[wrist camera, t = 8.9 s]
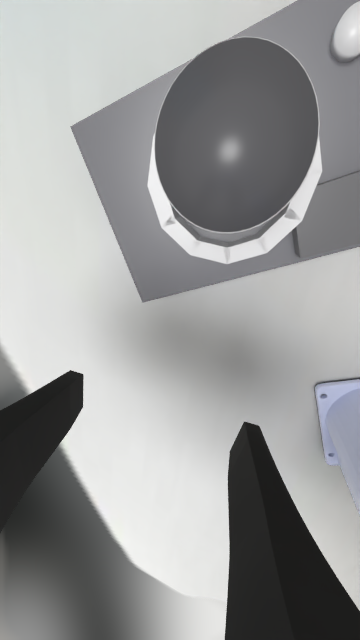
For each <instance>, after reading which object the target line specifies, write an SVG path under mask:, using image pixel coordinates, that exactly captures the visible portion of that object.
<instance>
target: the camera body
mask: <svg viewBox="0 0 360 640" xmlns="http://www.w3.org/2000/svg"><path fill="white" fill-rule="evenodd" d="M237 37H258V38H262V39H267V40H270V41H272V42H274V43H276V44H279V45H281V46H282V47H283V48H285V49H286V50H288V51H289V52H290V53H291V54H292V55H293V56H294V57H295V58H296V59H297V60H298V61H299V62H300V63H301V65H302V66H303V67H304V69H305V70H306V72H307V74H308V76H309V78H310V80H311V82H312V84H313V87H314V90H315V93H316V96H317V102H318V108H319V122H320V126H319V139H318V144H317V149H316V153H315V157H314V160H313V163H312V166H311V168H310V170H309V173H308V175H307V177H306V179H305V181H304V183H303V184H302V186H301V188H300V189H299V191H298V192H297V193H296V195H295V196H294V198H293V199H292V200H291V201H290V202H289V203H288V204H287V206H286V207H285V208H284V209H282V210H281V211H280V212H279V213H278V214H277V215H275V216H274V217H273V218H271V219H270V220H268V221H267V222H265V223H263V224H261V225H260V226H257V227H255V228H252V229H250V230H246V231H243V232H237V233H215V232H210V231H207V230H204V229H201V228H199V227H197V226H195V225H193V224H192V223H190V222H188V221H187V220H186V219H185V218H183V217H182V216H181V215H180V214H179V213H178V212H177V211H176V210H175V209H174V207H173V206H172V205H171V203H170V202H169V200H168V199H167V197H166V195H165V193H164V191H163V189H162V187H161V184H160V182H159V178H158V174H157V171H156V165H155V156H154V139H155V130H156V124H157V120H158V116H159V112H160V109H161V106H162V104H163V101H164V99H165V96H166V94H167V93H168V91H169V89H170V87H171V85H172V84H173V82H174V81H175V79H176V77H177V76H178V75H179V73H180V72H181V71H182V70H183V69H184V67H185V66H186V65H187V64H188V63H189V62H190V61H191V60H193V59H194V58H193V59H191V60H190V61H188V62H186V63H184V64H182V65H181V66H179V67H177V68H175V69H173V70H172V71H170V72H168V73H166V74H164V75H163V76H161V77H159V78H157V79H155V80H154V81H152V82H150V83H148V84H146V85H145V86H143V87H141V88H139V89H137V90H136V91H134V92H132V93H130V94H128V95H127V96H125V97H123V98H121V99H119V100H118V101H116V102H114V103H112V104H110V105H109V106H107V107H105V108H103V109H101V110H100V111H98V112H96V113H94V114H92V115H91V116H89V117H87V118H85V119H83V120H82V121H80V122H78V123H76V124H74V125H73V126H71V129H72V132H73V134H74V137H75V139H76V142H77V144H78V146H79V149H80V151H81V154H82V156H83V159H84V161H85V163H86V166H87V168H88V171H89V173H90V176H91V178H92V180H93V183H94V185H95V188H96V190H97V193H98V195H99V198H100V200H101V202H102V205H103V207H104V210H105V212H106V215H107V217H108V219H109V222H110V224H111V227H112V229H113V232H114V234H115V236H116V239H117V241H118V244H119V246H120V249H121V251H122V254H123V256H124V258H125V261H126V263H127V266H128V268H129V271H130V273H131V275H132V278H133V280H134V283H135V285H136V288H137V290H138V292H139V295H140V297H141V300H142V302H147V301H150V300H154V299H158V298H162V297H166V296H170V295H174V294H178V293H181V292H185V291H189V290H193V289H197V288H201V287H205V286H209V285H212V284H216V283H220V282H224V281H228V280H232V279H236V278H240V277H243V276H247V275H251V274H255V273H259V272H263V271H267V270H271V269H274V268H278V267H282V266H286V265H290V264H294V263H298V262H302V261H306V260H309V259H313V258H317V257H321V256H325V255H329V254H333V253H337V252H340V251H344V250H348V249H352V248H356V247H360V0H298V1H296V2H294V3H292V4H290V5H289V6H287V7H285V8H283V9H281V10H280V11H278V12H276V13H274V14H272V15H271V16H269V17H267V18H265V19H263V20H262V21H260V22H258V23H256V24H254V25H253V26H251V27H249V28H247V29H245V30H244V31H242V32H240V33H238V34H236V35H235V36H233V37H231V38H237ZM231 38H229V39H231ZM227 40H228V39H227Z"/></svg>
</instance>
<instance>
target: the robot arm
mask: <svg viewBox="0 0 360 640" xmlns="http://www.w3.org/2000/svg"><path fill="white" fill-rule="evenodd" d="M315 393H316V400H317V407H318V414H319V421H320V428H321V435H322V442H323V449H324V456H325V461H326V463H327V464H328V465H340V468H341V470H342V473H343V475H344V478H345V480H346V483H347V485H348V488H349V490H350V493H351V495H352V498H353V500H354V503H355V505H356V508H357V510H358V513H359V515H360V379H356V380H348V381H339V382H331V383H322V384H318V385H317V386H316V387H315ZM321 394H325V395H321ZM82 408H83V374H81V373H77V372H74V371H71V370H70V371H69V372H67V373H65V374H63V375H62V376H60V377H58V378H57V379H55V380H53V381H52V382H50V383H48V384H47V385H45V386H43V387H42V388H40V389H38V390H37V391H35V392H33V393H31V394H30V395H28V396H26V397H24V398H23V399H21V400H19V401H17V402H16V403H14V404H12V405H10V406H8V407H6V408H4V409H2V410H0V532H1V531H2V529H3V527H4V525H5V524H6V522H7V520H8V519H9V517H10V515H11V514H12V512H13V510H14V509H15V507H16V506H17V504H18V502H19V501H20V499H21V498H22V496H23V494H24V492H25V491H26V489H27V488H28V486H29V485H30V484H31V482H32V481H33V479H34V478H35V476H36V475H37V473H38V472H39V471H40V470H41V468H42V467H43V466H44V464H45V463H46V461H47V460H48V459H49V457H50V456H51V455H52V453H53V452H54V451H55V449H56V448H57V446H58V445H59V444H60V442H61V441H62V440H63V438H64V437H65V435H66V434H67V433H68V431H69V430H70V428H71V427H72V425H73V423H74V422H75V420H76V418H77V416H78V415H79V413H80V411H81V409H82ZM228 502H229V537H230V560H229V580H228V598H227V614H226V630H225V640H360V611H359V610H358V608H357V607H356V605H355V604H354V602H353V601H352V599H351V598H350V596H349V595H348V593H347V592H346V590H345V589H344V587H343V586H342V584H341V583H340V581H339V580H338V578H337V577H336V575H335V573H334V572H333V570H332V569H331V567H330V565H329V564H328V562H327V561H326V559H325V557H324V556H323V554H322V552H321V551H320V549H319V547H318V546H317V544H316V542H315V541H314V539H313V537H312V535H311V534H310V532H309V530H308V528H307V527H306V525H305V523H304V521H303V519H302V517H301V516H300V514H299V512H298V510H297V508H296V506H295V504H294V502H293V500H292V498H291V496H290V494H289V492H288V490H287V488H286V486H285V484H284V482H283V480H282V478H281V476H280V473H279V471H278V469H277V467H276V465H275V462H274V460H273V458H272V456H271V453H270V451H269V449H268V446H267V444H266V441H265V439H264V436H263V434H262V431H261V429H260V427H259V426H258V425H255V424H251V423H248V422H244V423H243V425H242V427H241V429H240V432H239V434H238V436H237V438H236V440H235V442H234V444H233V446H232V448H231V450H230V457H229V470H228Z"/></svg>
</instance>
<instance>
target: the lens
mask: <svg viewBox="0 0 360 640" xmlns="http://www.w3.org/2000/svg"><path fill="white" fill-rule="evenodd" d="M319 126H320V122H319V108H318V102H317V96H316V93H315V90H314V87H313V84H312V82H311V80H310V78H309V76H308V74H307V72H306V70H305V69H304V67H303V66H302V65H301V63H300V62H299V61H298V60H297V59H296V58H295V57H294V56H293V55H292V54H291V53H290V52H289V51H288V50H286V49H285V48H283V47H282V46H281V45H279V44H276V43H274V42H272V41H270V40H267V39H262V38H258V37H237V38H231V39H228V40H225V41H221V42H219V43H217V44H215V45H213V46H211V47H209V48H207V49H206V50H204V51H203V52H201V53H200V54H198V55H197V56H196V57H195V58H194V59H193V60H191V61H190V62H189V63H188V64H187V65H186V66H185V67H184V69H183V70H182V71H181V72H180V73H179V75H178V76H177V77H176V79H175V81H174V82H173V84H172V85H171V87H170V89H169V91H168V93H167V94H166V96H165V99H164V101H163V104H162V106H161V109H160V112H159V116H158V120H157V124H156V130H155V139H154V156H155V165H156V171H157V174H158V178H159V182H160V184H161V187H162V189H163V191H164V193H165V195H166V197H167V199H168V200H169V202H170V203H171V205H172V206H173V207H174V209H175V210H176V211H177V212H178V213H179V214H180V215H181V216H182V217H183V218H185V219H186V220H187V221H188V222H190V223H192V224H193V225H195V226H197V227H199V228H201V229H204V230H207V231H210V232H215V233H237V232H243V231H246V230H250V229H252V228H255V227H257V226H260V225H261V224H263V223H265V222H267V221H268V220H270V219H271V218H273V217H274V216H275V215H277V214H278V213H279V212H280V211H281V210H282V209H284V208H285V207H286V206H287V204H288V203H289V202H290V201H291V200H292V199H293V198H294V196H295V195H296V193H297V192H298V191H299V189H300V188H301V186H302V184H303V183H304V181H305V179H306V177H307V175H308V173H309V170H310V168H311V166H312V163H313V160H314V157H315V153H316V149H317V144H318V139H319Z"/></svg>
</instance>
